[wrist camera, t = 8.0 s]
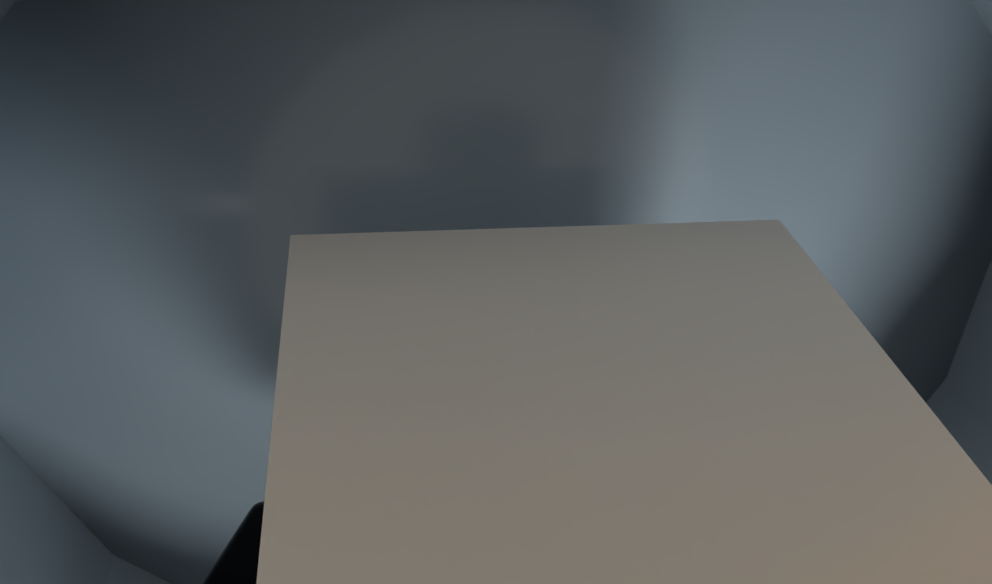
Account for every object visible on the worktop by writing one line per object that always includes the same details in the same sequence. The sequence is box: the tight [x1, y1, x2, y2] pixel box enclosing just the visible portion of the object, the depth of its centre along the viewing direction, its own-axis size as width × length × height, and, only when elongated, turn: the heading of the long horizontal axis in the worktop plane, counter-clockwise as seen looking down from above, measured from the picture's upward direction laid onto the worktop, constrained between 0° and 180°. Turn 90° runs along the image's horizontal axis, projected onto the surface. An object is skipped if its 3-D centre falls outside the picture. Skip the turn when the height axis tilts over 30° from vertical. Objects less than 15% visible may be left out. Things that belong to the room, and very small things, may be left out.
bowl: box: [0, 0, 992, 584], centre depth 11 cm, size 14×14×4 cm
